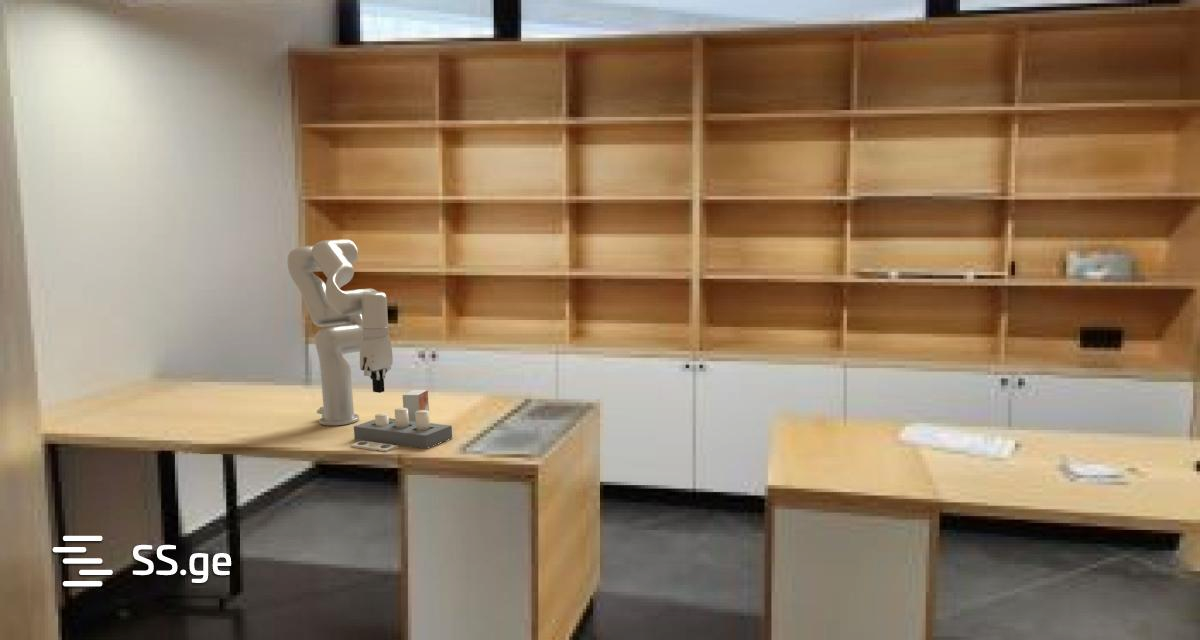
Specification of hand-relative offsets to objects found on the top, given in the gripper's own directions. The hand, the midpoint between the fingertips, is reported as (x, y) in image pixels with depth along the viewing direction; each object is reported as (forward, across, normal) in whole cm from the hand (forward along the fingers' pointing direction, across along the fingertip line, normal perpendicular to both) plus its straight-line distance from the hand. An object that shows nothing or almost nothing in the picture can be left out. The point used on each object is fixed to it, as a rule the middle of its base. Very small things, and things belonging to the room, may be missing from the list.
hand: (378, 391), depth 283 cm
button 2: (+11, 0, +9) cm, 14 cm away
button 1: (+14, 0, +1) cm, 14 cm away
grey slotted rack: (+14, 0, +9) cm, 16 cm away
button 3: (+11, 0, +17) cm, 20 cm away
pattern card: (+13, +11, +7) cm, 19 cm away
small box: (+14, -16, +1) cm, 21 cm away
